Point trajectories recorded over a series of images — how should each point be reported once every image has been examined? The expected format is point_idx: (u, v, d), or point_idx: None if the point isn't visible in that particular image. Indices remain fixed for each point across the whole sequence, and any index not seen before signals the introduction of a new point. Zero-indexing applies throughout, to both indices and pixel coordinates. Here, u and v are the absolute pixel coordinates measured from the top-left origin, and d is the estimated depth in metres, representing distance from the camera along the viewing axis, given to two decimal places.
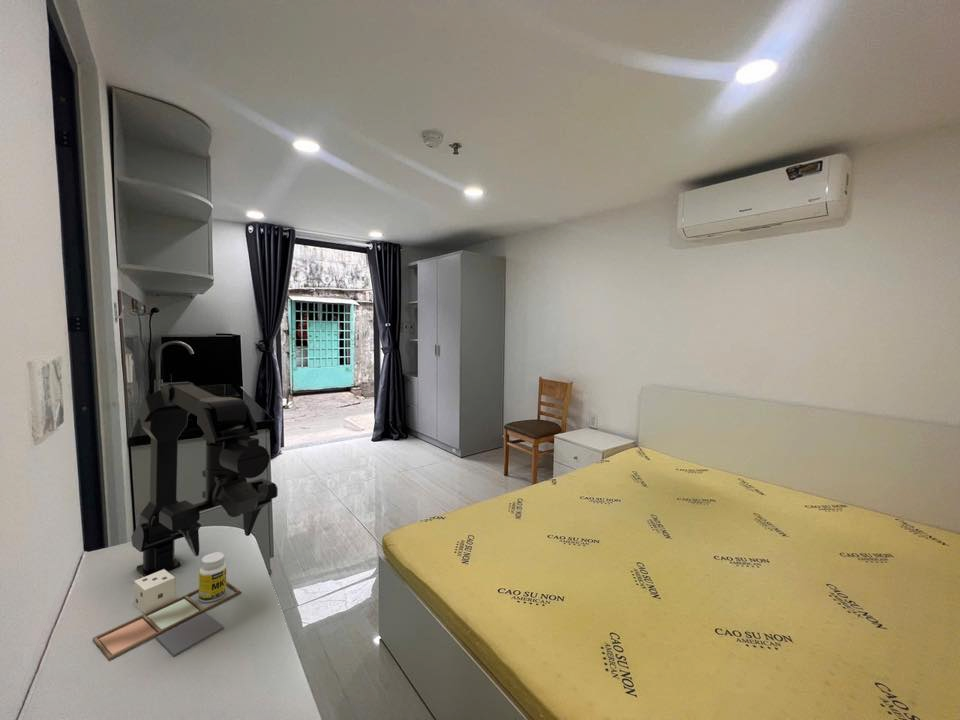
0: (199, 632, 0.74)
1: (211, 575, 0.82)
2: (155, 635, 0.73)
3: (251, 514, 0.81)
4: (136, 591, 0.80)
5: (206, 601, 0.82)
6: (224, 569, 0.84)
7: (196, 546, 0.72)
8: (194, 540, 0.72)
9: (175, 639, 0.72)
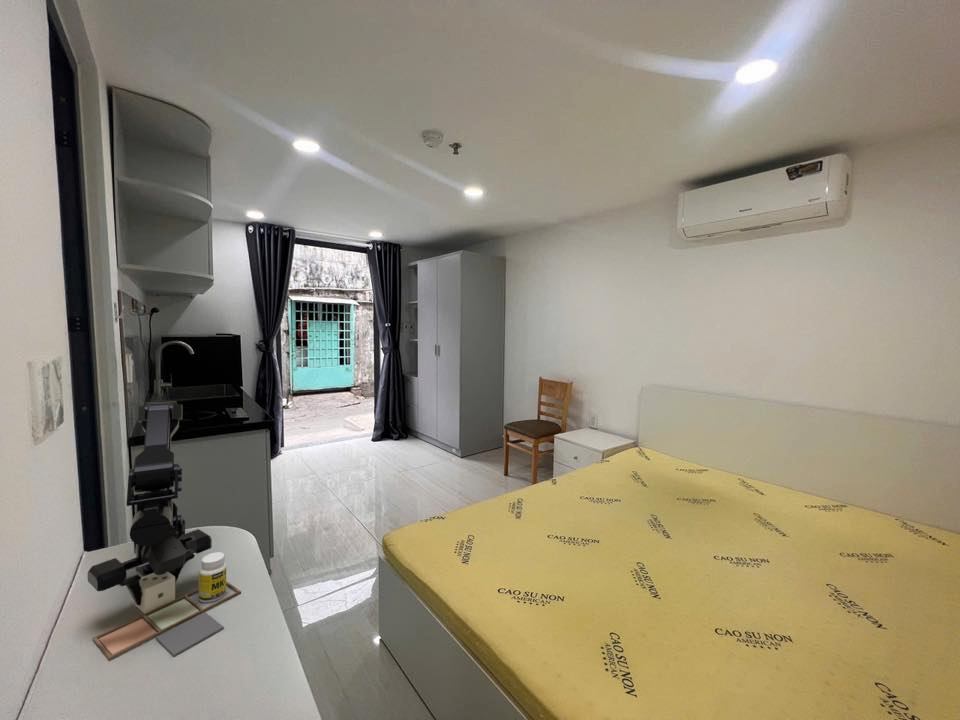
0: (199, 632, 0.74)
1: (211, 575, 0.82)
2: (155, 635, 0.73)
3: (173, 570, 0.83)
4: None
5: (206, 601, 0.82)
6: (224, 569, 0.84)
7: (138, 596, 0.78)
8: (135, 591, 0.78)
9: (175, 639, 0.72)
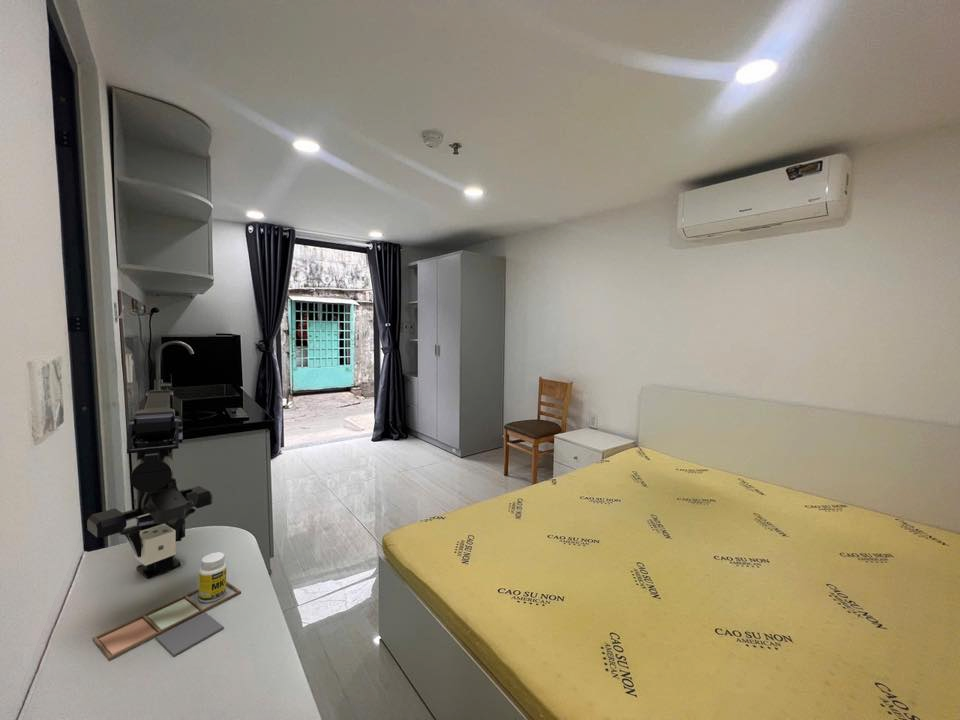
0: (199, 632, 0.74)
1: (211, 575, 0.82)
2: (155, 635, 0.73)
3: (174, 524, 0.82)
4: None
5: (206, 601, 0.82)
6: (224, 569, 0.84)
7: (138, 548, 0.77)
8: (135, 542, 0.77)
9: (175, 639, 0.72)
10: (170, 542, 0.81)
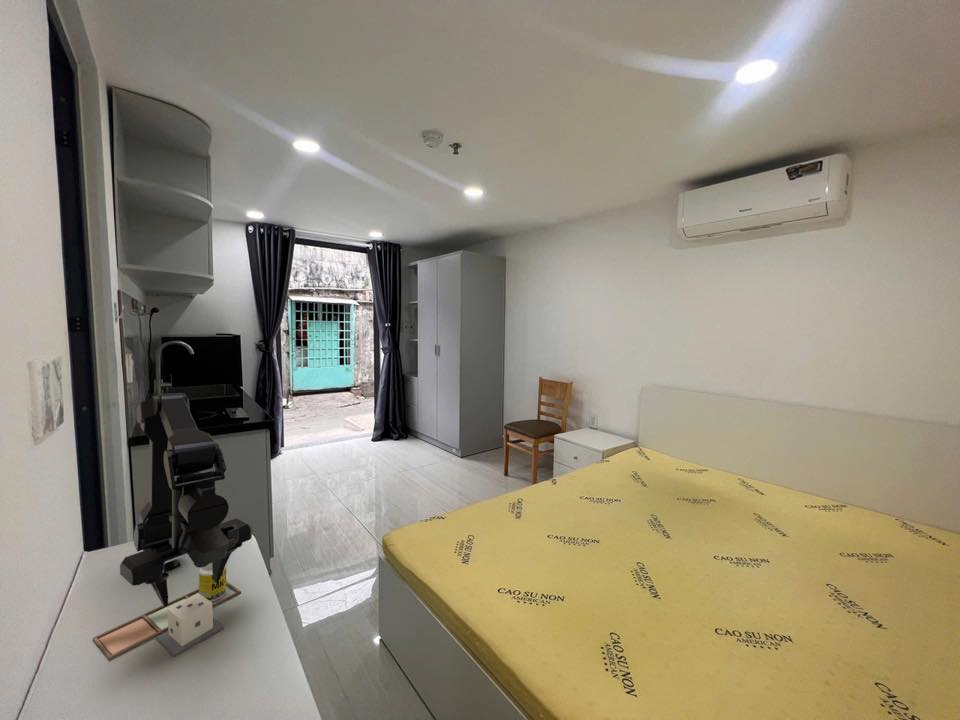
0: None
1: (211, 575, 0.82)
2: (155, 635, 0.73)
3: (220, 560, 0.76)
4: (170, 619, 0.72)
5: None
6: (224, 569, 0.84)
7: (164, 596, 0.68)
8: (162, 590, 0.68)
9: None
10: (207, 616, 0.74)
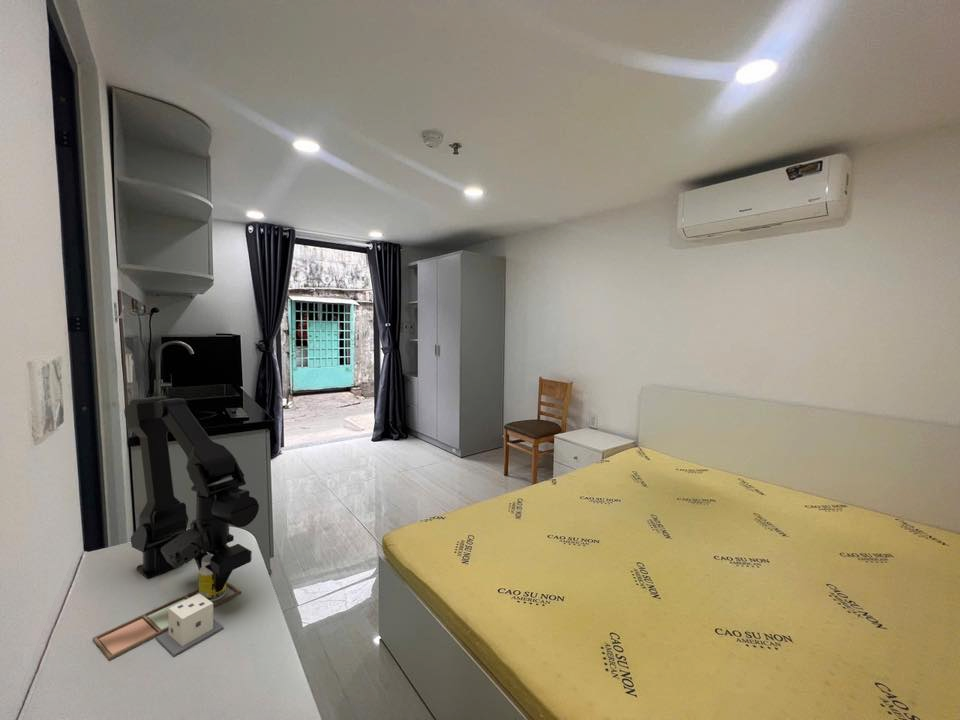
0: None
1: (211, 575, 0.82)
2: (155, 635, 0.73)
3: None
4: (171, 619, 0.72)
5: None
6: None
7: None
8: (198, 567, 0.85)
9: None
10: (207, 616, 0.74)
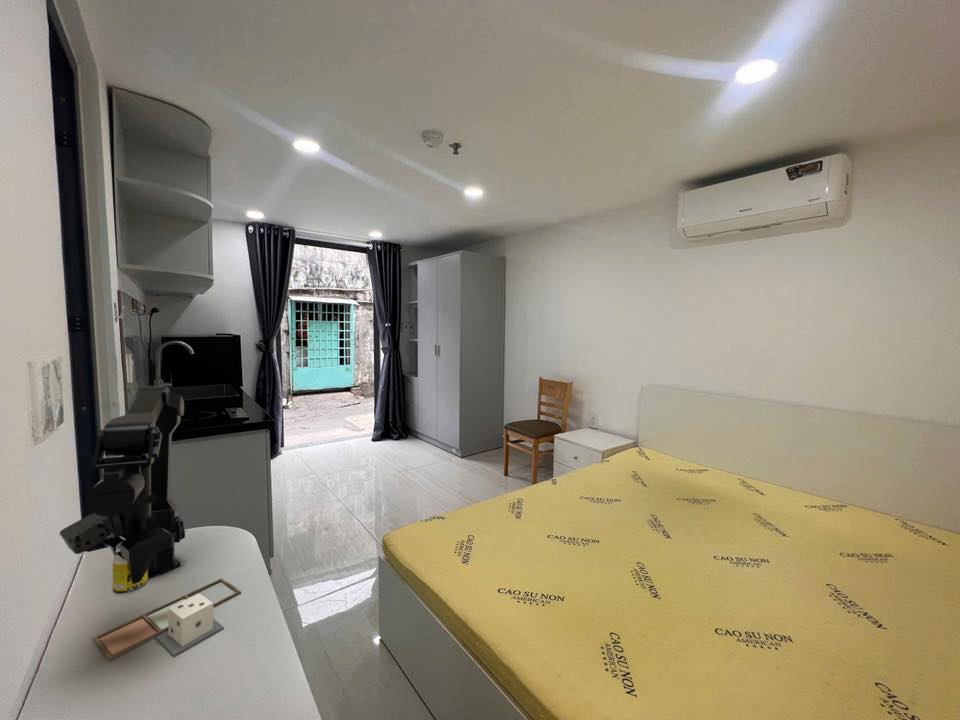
0: None
1: (127, 564, 0.70)
2: (155, 635, 0.73)
3: None
4: (171, 619, 0.72)
5: (120, 595, 0.70)
6: None
7: None
8: (114, 555, 0.72)
9: None
10: (207, 616, 0.74)
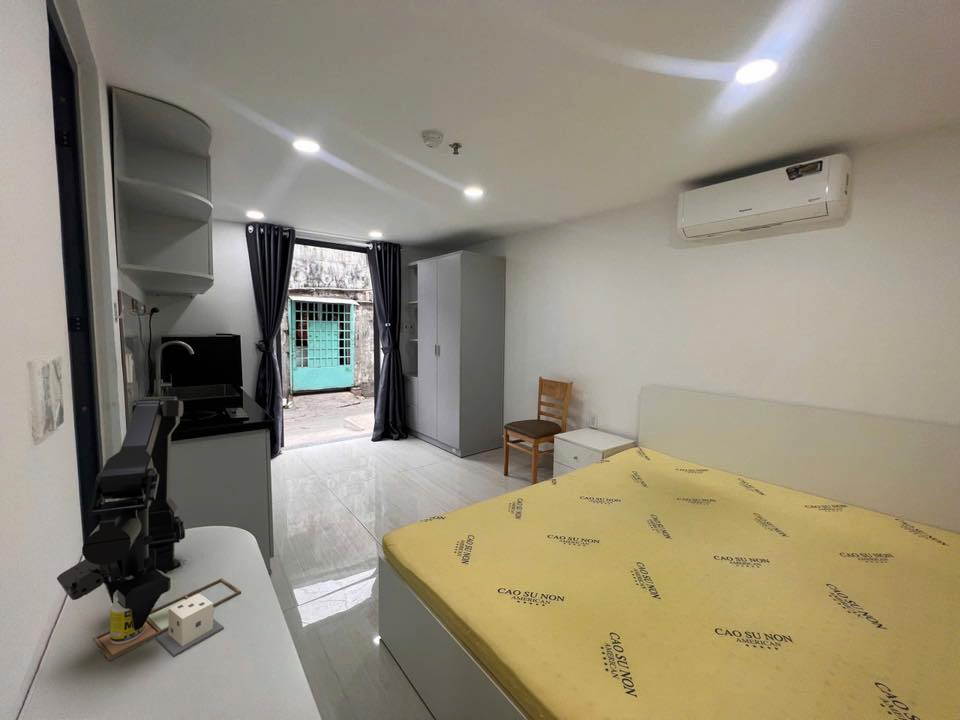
0: None
1: (124, 612, 0.70)
2: (155, 635, 0.73)
3: None
4: (171, 619, 0.72)
5: (118, 642, 0.70)
6: None
7: (110, 599, 0.74)
8: (108, 591, 0.74)
9: None
10: (207, 616, 0.74)
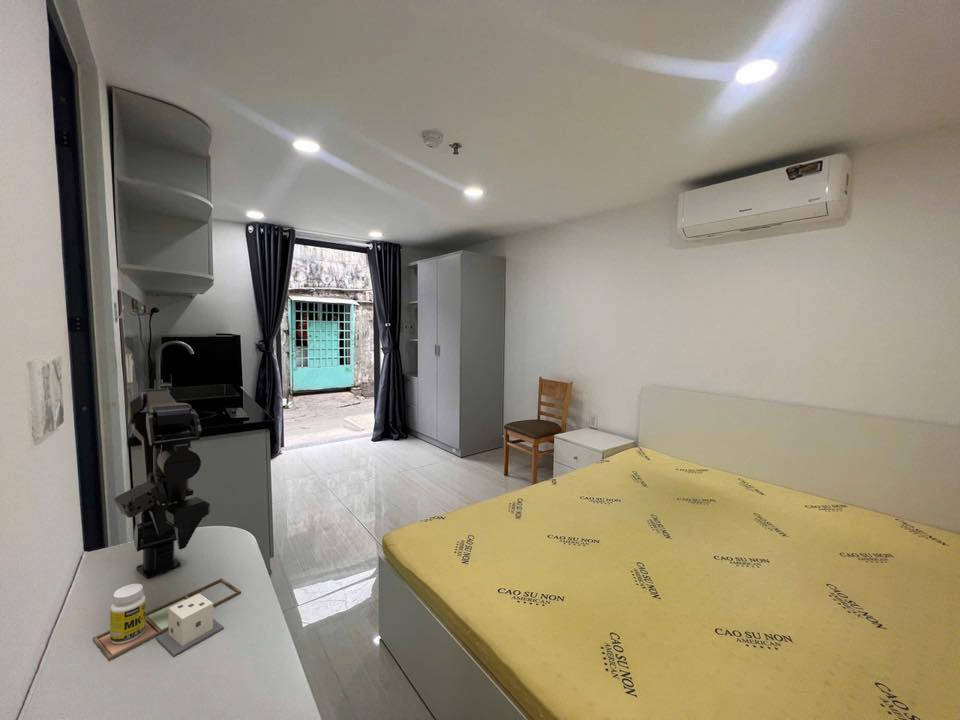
0: None
1: (124, 612, 0.70)
2: (155, 635, 0.73)
3: None
4: (171, 619, 0.72)
5: (118, 642, 0.70)
6: (141, 604, 0.72)
7: (155, 525, 0.84)
8: (153, 519, 0.84)
9: None
10: (207, 616, 0.74)
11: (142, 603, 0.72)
